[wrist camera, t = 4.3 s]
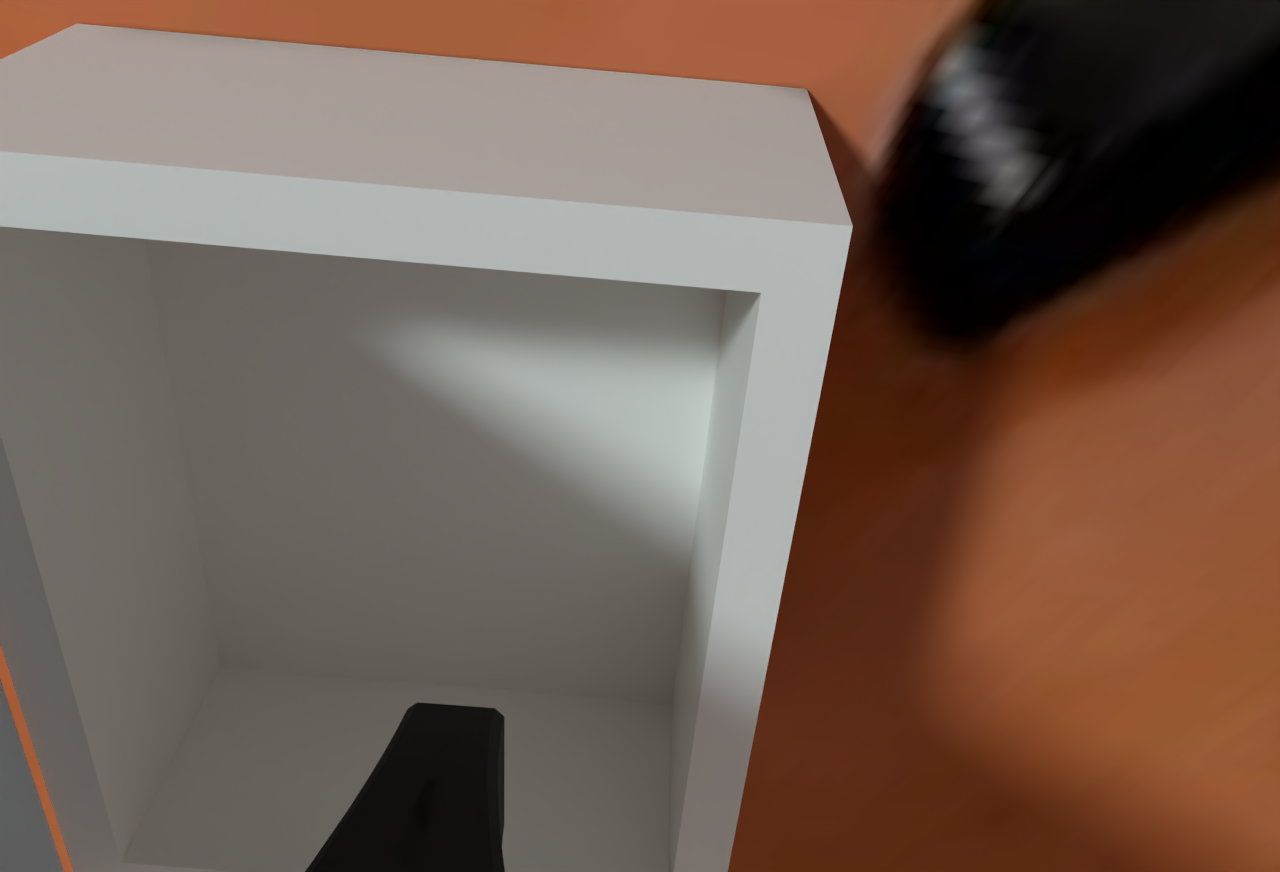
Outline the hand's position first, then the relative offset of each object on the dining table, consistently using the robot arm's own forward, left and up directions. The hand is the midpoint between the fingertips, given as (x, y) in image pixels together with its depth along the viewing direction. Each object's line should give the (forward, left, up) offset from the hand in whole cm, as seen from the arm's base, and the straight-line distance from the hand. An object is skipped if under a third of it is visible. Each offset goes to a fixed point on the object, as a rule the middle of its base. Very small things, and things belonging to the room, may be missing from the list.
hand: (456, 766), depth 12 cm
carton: (+1, 0, -7) cm, 7 cm away
